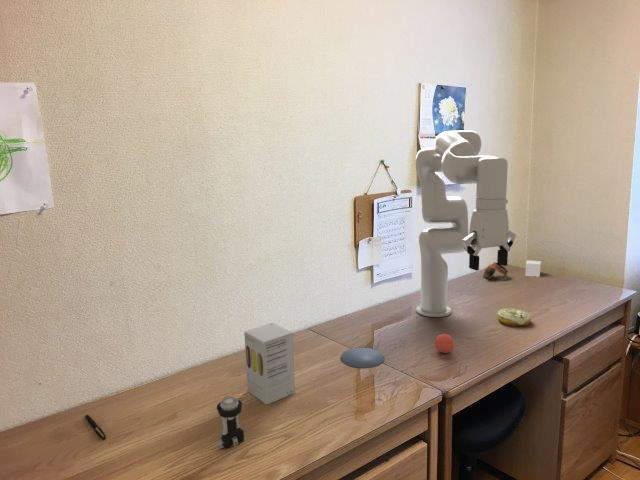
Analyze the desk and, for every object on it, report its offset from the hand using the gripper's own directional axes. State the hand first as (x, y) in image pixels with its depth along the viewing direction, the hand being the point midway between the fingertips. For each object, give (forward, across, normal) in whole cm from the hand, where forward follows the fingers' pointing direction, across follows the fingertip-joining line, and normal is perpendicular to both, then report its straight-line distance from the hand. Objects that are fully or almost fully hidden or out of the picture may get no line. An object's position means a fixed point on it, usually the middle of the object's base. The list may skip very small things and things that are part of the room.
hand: (488, 267), depth 132 cm
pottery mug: (+28, -62, -65) cm, 94 cm away
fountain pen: (+30, +102, -15) cm, 107 cm away
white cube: (+28, -82, -61) cm, 106 cm away
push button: (+29, +74, +5) cm, 80 cm away
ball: (+26, +5, -12) cm, 29 cm away
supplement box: (+29, +59, -12) cm, 67 cm away
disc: (+29, +29, -19) cm, 45 cm away
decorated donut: (+29, -32, -21) cm, 48 cm away
